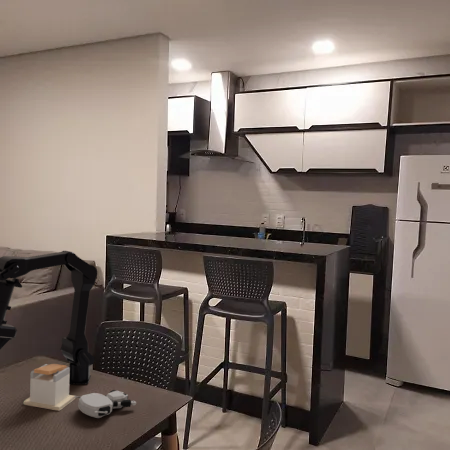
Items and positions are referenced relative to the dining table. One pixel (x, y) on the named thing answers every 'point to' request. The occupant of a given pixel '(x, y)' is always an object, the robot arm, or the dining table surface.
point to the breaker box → (50, 390)
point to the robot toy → (103, 403)
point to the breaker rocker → (50, 369)
